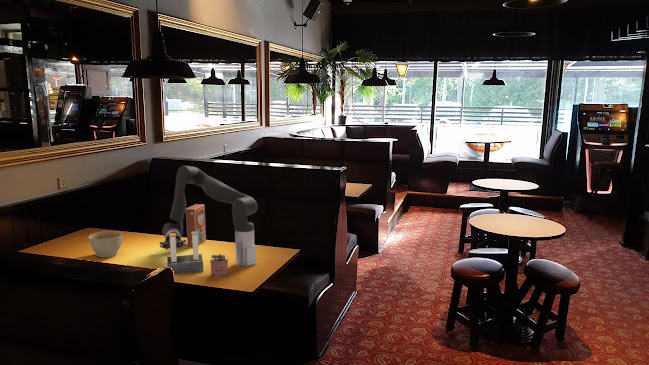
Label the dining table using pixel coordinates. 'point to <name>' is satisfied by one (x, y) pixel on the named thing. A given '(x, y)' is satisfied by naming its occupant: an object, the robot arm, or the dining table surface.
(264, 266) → the dining table surface
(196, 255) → the handle
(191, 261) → the grey rectangular base
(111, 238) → the planter bowl
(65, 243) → the dining table surface
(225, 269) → the lighter
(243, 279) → the dining table surface
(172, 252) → the handle
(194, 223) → the control panel
